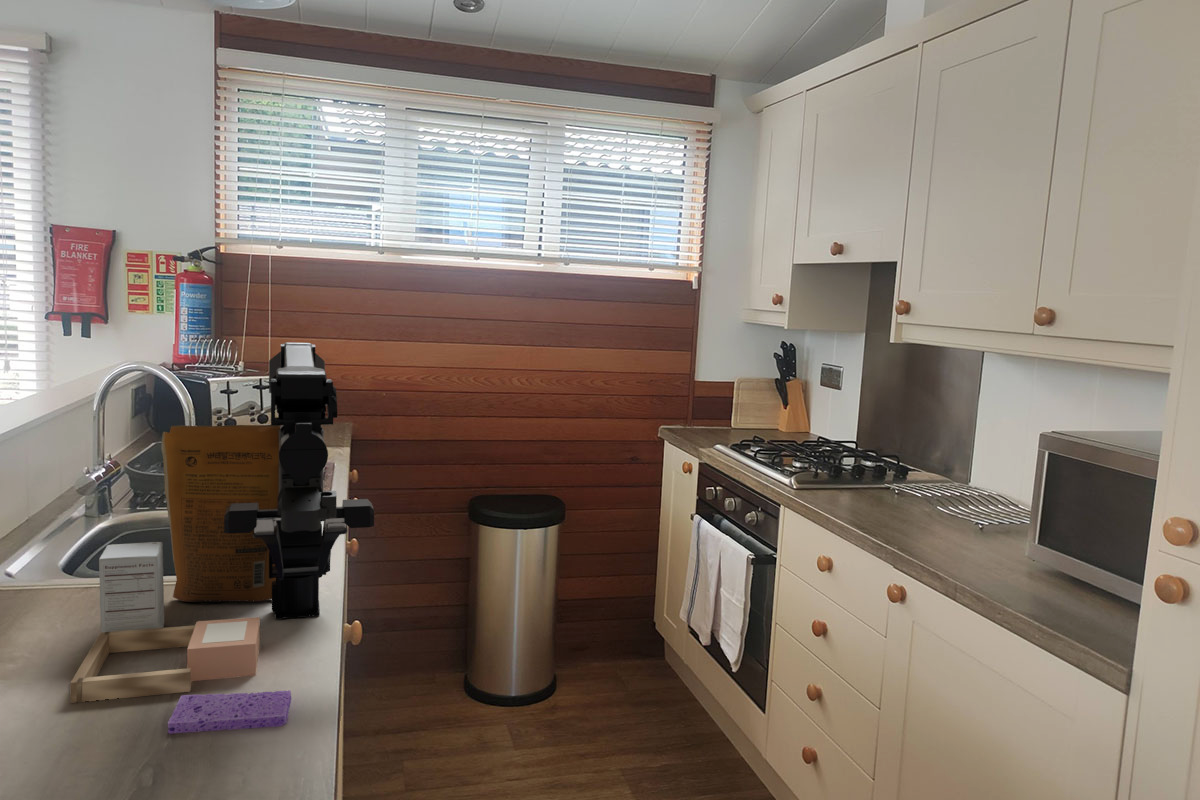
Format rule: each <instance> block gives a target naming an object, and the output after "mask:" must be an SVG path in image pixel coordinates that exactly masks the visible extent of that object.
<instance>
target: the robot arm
mask: <svg viewBox="0 0 1200 800" xmlns="http://www.w3.org/2000/svg"><path fill="white" fill-rule="evenodd" d="M268 394H270V426H281V427H280V430H279V494H278V509H264V510H259V505H258V503H233V504H231V505H230V506H229V507H228V508H227V509H226V512H225V515H224V533H228V534H231V533H250V532H251V531H252V530H253V529H254V532H253V537H254V538H261V539H262V540H263V541H264V543H265V544H266V546H267V548H268V549H269V579H272V578H276V581H273V582H272V599H271V612H273V613H274V619H276V620H278V619H279V620H282V619H295V618H304V617H305V618H309V617H318V616H320V615H321V613H320V600H319V599H320V598H319V596H320V595H319V593H320V591H319V589H320V585H319V584H320V583H319V582H320V578H322V577H323V576H326V575H327V573H329V572H331V555H332V549H333V547H334V545H335V543H336V541H337V539H338V538H339V537H340V536H342V535H346V534H348V532H349V531H348V530H349V529H348V527H349V528H350V529H359V528H360V529H363V528H365V529H366V528H372V527H375V509H374V506H373V503H372V502H371V501H370V500H369V499H368V498H359V499H358V498H357V499H354V498H352V499H342V506H337V490H324V484H325V483H324V478H325V476H324V475H325V474H324V472H325V471H324V469H325V467H326V465H327V462H328V458H329V452H328V448H327V445H326V442H325V436H324V435H325V430H324V429H323V427H322V425H323V426H326V425H328V426H331V425H334V419H336V418H338V402H337V401H338V400H337V398H338V397H337V387H335V385H334V382H333V380H332V379H329V378H327V373H326V362H325V360H324V359H323V358H322V357H321V356H319V355H318V354H317V353H316V344H312V343H311V342H292V341H291V342H290V341H289V342H286V341H285V342H284V343H280V351H279V352H278V353H277V354H275V355H273V356H272V358H270V359H269V360H268ZM326 412H327V416H326ZM276 413H277V415H278V416H277V417H276ZM322 522H323V526H322ZM347 526H348V527H347ZM273 564H275V566H273Z"/></svg>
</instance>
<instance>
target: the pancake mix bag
mask: <svg viewBox="0 0 1200 800" xmlns="http://www.w3.org/2000/svg"><path fill="white" fill-rule="evenodd" d="M281 426H282V425H264V424H229V425H182V424H181V425H173V426H172V425H171V427H170V430H169V432H167V431H162V437H161V447H160V448H161V453H162V459H163V460H162V462H163V476H164V495H165V497H166V498H165V499H166V506H167V507H166V509H167V515H168V516H167V517H168V524H169V531H170V541H171V551H172V552H171V553H172V554H171V555H172V561H173V565H174V571H175V577H176V581H175V585H174V590H173V593H172V598H174V599H176V600H178V601H181V602H189V603H191V602H192V603H195V602H200V603H201V602H263V601H264V602H265V601H270V600H272V582H273V581H276V578H272V579H269V549H268V548H267V546H266V544H265V543H264V541H263V540H262V539H261V538H254V537H253V532H254V529H253V530H252V531H251V532H250V533H231V534H228V533H224V515H225V512H226V509H227V508H228V507H229V506H230V505H231V504H233V503H258V505H259V510H264V509H278V494H279V430H280V427H281ZM273 566H275V564H273Z"/></svg>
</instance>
